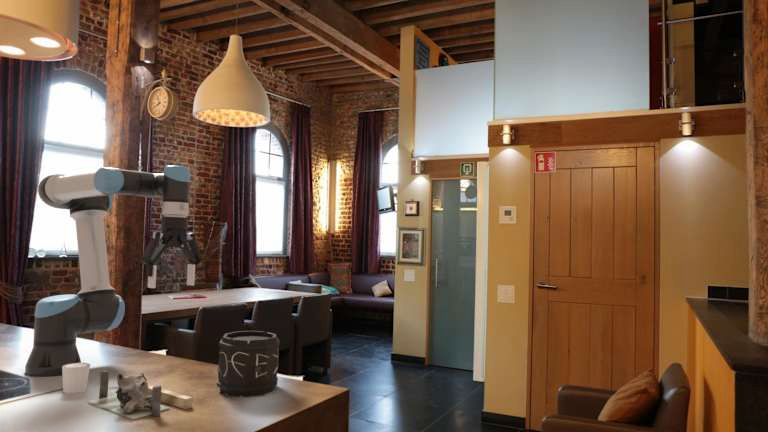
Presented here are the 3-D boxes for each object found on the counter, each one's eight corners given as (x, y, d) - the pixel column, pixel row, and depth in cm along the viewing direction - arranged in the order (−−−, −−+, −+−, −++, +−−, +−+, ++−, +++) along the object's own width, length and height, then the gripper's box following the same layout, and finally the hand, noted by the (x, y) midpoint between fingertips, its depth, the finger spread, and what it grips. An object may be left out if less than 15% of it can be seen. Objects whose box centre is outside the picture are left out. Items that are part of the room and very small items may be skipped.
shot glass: (94, 388, 155) (95, 363, 155) (73, 395, 148) (74, 369, 148) (76, 385, 157) (77, 361, 157) (54, 391, 150) (56, 366, 151)
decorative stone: (167, 406, 138) (159, 368, 137) (130, 422, 131) (121, 383, 130) (143, 394, 149) (135, 359, 148) (108, 408, 143) (100, 372, 142)
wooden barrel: (222, 401, 147) (225, 343, 148) (210, 384, 163) (213, 331, 164) (286, 394, 155) (289, 339, 156) (269, 379, 171) (272, 329, 172)
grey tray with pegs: (81, 401, 143) (83, 374, 143) (132, 389, 155) (133, 364, 156) (140, 422, 129) (142, 392, 129) (191, 407, 141) (193, 380, 142)
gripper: (145, 214, 153) (141, 290, 152) (216, 218, 174) (213, 285, 173) (129, 214, 157) (125, 287, 156) (200, 218, 178) (197, 283, 177)
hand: (171, 286), depth 165 cm, fingers open, 13 cm apart
